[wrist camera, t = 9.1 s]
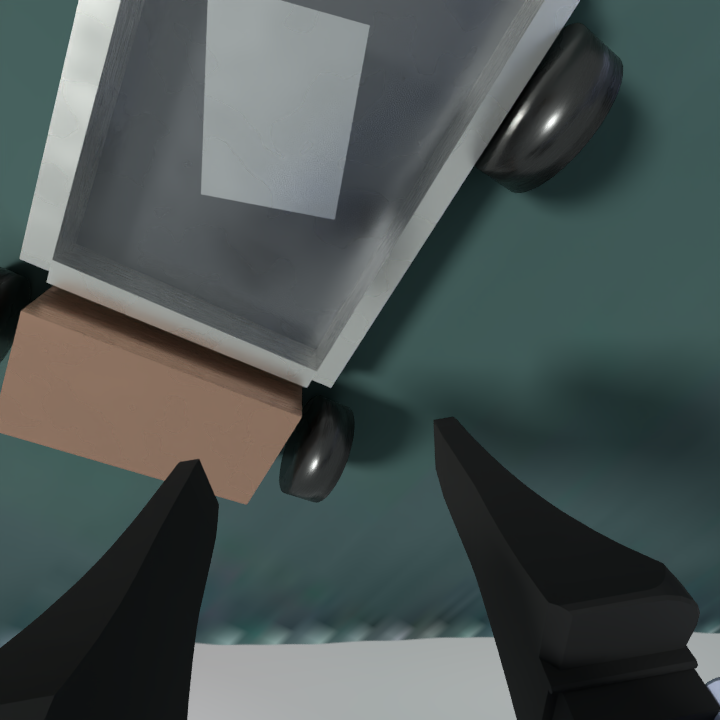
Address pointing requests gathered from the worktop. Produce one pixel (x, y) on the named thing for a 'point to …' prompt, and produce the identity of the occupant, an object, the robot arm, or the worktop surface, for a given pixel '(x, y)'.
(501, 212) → the worktop surface
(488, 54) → the chassis
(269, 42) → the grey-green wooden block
